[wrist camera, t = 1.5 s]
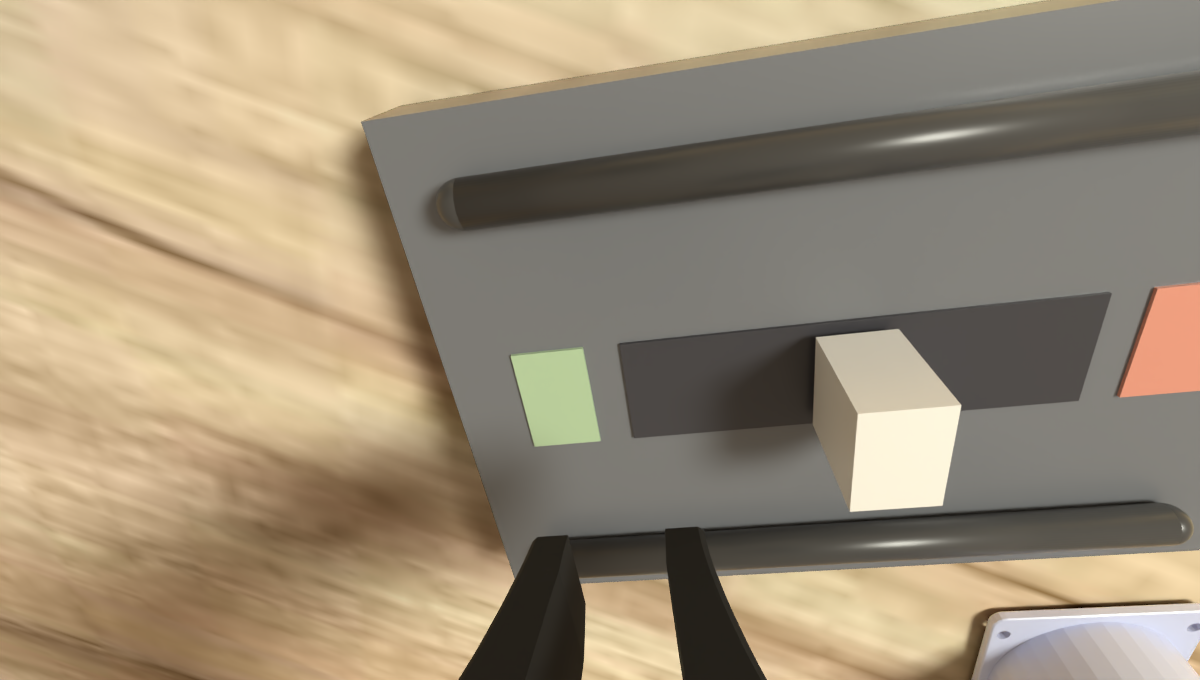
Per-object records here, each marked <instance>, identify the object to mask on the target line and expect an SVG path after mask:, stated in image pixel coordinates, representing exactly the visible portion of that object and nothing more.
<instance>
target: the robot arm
mask: <svg viewBox="0 0 1200 680" xmlns="http://www.w3.org/2000/svg"><path fill="white" fill-rule="evenodd" d="M665 541H666V566H667V573H668V580H669V587H670V594H671V602H672V609H673V616H674V623H675V630H676V637H677V644H678V651H679V658H680V664H681V671H682V677H683V680H767V679H766V677H765V676H764V674H763V672H762V670H761V668H760V666H759V665H758V663H757V661H756V659H755V657H754V655H753V653H752V651H751V649H750V647H749V645H748V643H747V641H746V639H745V637H744V635H743V633H742V630H741V628H740V626H739V624H738V622H737V620H736V618H735V616H734V614H733V612H732V609H731V607H730V605H729V603H728V600H727V598H726V596H725V593H724V591H723V588H722V586H721V583H720V581H719V578H718V576H717V573H716V570H715V568H714V565H713V562H712V559H711V556H710V552H709V549H708V545H707V542H706V537H705V532H704V530H702V529H701V528H699V527H683V528H667V529H665ZM584 641H585V600H584V596H583V592H582V588H581V584H580V580H579V576H578V572H577V568H576V565H575V561H574V557H573V553H572V549H571V545H570V541H569V537H568V535H559V536H544V537H537V538H536V539H535V540H534V541H533V542H532V544H531V546H530V549H529V551H528V553H527V555H526V557H525V559H524V562H523V564H522V566H521V568H520V570H519V572H518V574H517V576H516V578H515V580H514V582H513V584H512V586H511V588H510V590H509V592H508V594H507V596H506V598H505V600H504V602H503V604H502V606H501V607H500V609H499V611H498V613H497V615H496V616H495V618H494V620H493V622H492V624H491V625H490V627H489V629H488V631H487V633H486V634H485V636H484V638H483V640H482V642H481V643H480V645H479V647H478V649H477V650H476V652H475V654H474V655H473V657H472V659H471V660H470V662H469V663H468V665H467V667H466V668H465V670H464V672H463V673H462V675H461V676H460V678H459V680H581V678H582V670H583V662H584ZM1199 641H1200V603H1184V604H1161V605H1138V606H1116V607H1093V608H1070V609H1047V610H1025V611H1002V612H997V613H995V614H993V615H991V616H990V618H989V619H988V622H987V626H986V629H985V633H984V636H983V640H982V644H981V647H980V651H979V654H978V658H977V662H976V665H975V669H974V672H973V676H972V679H971V680H1200V676H1199V675H1198V674H1197V673H1196V671H1195V670H1194V669H1193V668H1192V667H1191V666H1190V664H1189V663H1188V662H1187V661H1188V660H1189V658H1190V656H1191V654H1192V653H1193V651H1194V649H1195V647H1196V646H1197V644H1198V642H1199Z"/></svg>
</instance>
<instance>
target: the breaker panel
mask: <svg viewBox="0 0 1200 680" xmlns="http://www.w3.org/2000/svg"><path fill="white" fill-rule="evenodd" d="M361 123H362V126H363V129H364V132H365V135H366V138H367V141H368V144H369V147H370V150H371V153H372V156H373V159H374V162H375V165H376V167H377V170H378V173H379V176H380V179H381V182H382V185H383V188H384V191H385V194H386V197H387V200H388V203H389V206H390V209H391V212H392V215H393V218H394V221H395V224H396V227H397V230H398V233H399V236H400V239H401V242H402V245H403V248H404V251H405V254H406V257H407V260H408V263H409V266H410V269H411V272H412V275H413V277H414V280H415V283H416V286H417V289H418V292H419V295H420V298H421V301H422V304H423V307H424V310H425V313H426V316H427V319H428V322H429V325H430V328H431V331H432V334H433V337H434V340H435V343H436V346H437V349H438V352H439V355H440V358H441V361H442V364H443V367H444V370H445V373H446V376H447V379H448V382H449V385H450V388H451V390H452V393H453V396H454V399H455V402H456V405H457V408H458V411H459V414H460V417H461V420H462V423H463V426H464V429H465V432H466V435H467V438H468V441H469V444H470V447H471V450H472V453H473V456H474V459H475V462H476V465H477V468H478V471H479V474H480V477H481V480H482V483H483V486H484V489H485V492H486V495H487V498H488V500H489V503H490V506H491V509H492V512H493V515H494V518H495V521H496V524H497V527H498V530H499V533H500V536H501V539H502V542H503V545H504V548H505V551H506V554H507V557H508V560H509V563H510V566H511V569H512V572H513V575H514V578H516V576H517V574H518V572H519V570H520V568H521V566H522V564H523V562H524V559H525V557H526V555H527V553H528V551H529V549H530V546H531V544H532V542H533V541H534V540H535V539H536V538H537V537H544V536H559V535H568V537H569V541H570V545H571V549H572V553H573V557H574V561H575V565H576V568H577V572H578V576H579V580H580V584H582V583H600V582H619V581H637V580H656V579H668V573H667V566H666V541H665V529H667V528H683V527H699V528H701V529H702V530H704V532H705V537H706V542H707V545H708V549H709V552H710V556H711V559H712V562H713V565H714V568H715V570H716V573H717V576H730V575H748V574H767V573H785V572H804V571H822V570H841V569H859V568H878V567H896V566H915V565H933V564H952V563H971V562H989V561H1008V560H1026V559H1045V558H1063V557H1082V556H1100V555H1119V554H1137V553H1156V552H1174V551H1193V550H1199V549H1200V0H1047V1H1041V2H1035V3H1028V4H1022V5H1016V6H1010V7H1004V8H998V9H992V10H985V11H979V12H973V13H967V14H961V15H955V16H949V17H942V18H936V19H930V20H924V21H918V22H912V23H906V24H899V25H893V26H887V27H881V28H875V29H869V30H863V31H856V32H850V33H844V34H838V35H832V36H826V37H820V38H813V39H807V40H801V41H795V42H789V43H783V44H777V45H770V46H764V47H758V48H752V49H746V50H740V51H734V52H727V53H721V54H715V55H709V56H703V57H697V58H691V59H684V60H678V61H672V62H666V63H660V64H654V65H648V66H641V67H635V68H629V69H623V70H617V71H611V72H605V73H598V74H592V75H586V76H580V77H574V78H568V79H562V80H555V81H549V82H543V83H537V84H531V85H525V86H519V87H513V88H506V89H500V90H494V91H488V92H482V93H476V94H470V95H463V96H457V97H451V98H445V99H439V100H433V101H427V102H420V103H414V104H408V105H402V106H399V107H396V108H394V109H391V110H389V111H386V112H384V113H381V114H379V115H377V116H374V117H372V118H369V119H367V120H364V121H362V122H361ZM892 329H899V330H900V331H901V332H902V333H903V335H904V336H905V337H906V338H907V340H908V341H909V342H910V343H911V344H912V346H913V347H914V348H915V349H916V350H917V352H918V353H919V354H920V355H921V357H922V358H923V359H924V360H925V361H926V363H927V364H928V365H929V366H930V368H931V369H932V370H933V371H934V372H935V374H936V375H937V376H938V377H939V378H940V380H941V381H942V382H943V383H944V385H945V386H946V387H947V388H948V389H949V391H950V392H951V393H952V394H953V395H954V397H955V398H956V399H957V400H958V402H959V403H960V404H961V410H960V415H959V421H958V426H957V431H956V437H955V442H954V447H953V452H952V458H951V463H950V468H949V474H948V479H947V484H946V489H945V495H944V500H943V505H942V506H931V507H916V508H900V509H885V510H870V511H855V512H850V511H849V509H848V506H847V504H846V502H845V499H844V497H843V495H842V492H841V490H840V488H839V485H838V483H837V480H836V478H835V476H834V473H833V471H832V469H831V466H830V464H829V462H828V459H827V457H826V455H825V452H824V450H823V448H822V445H821V443H820V441H819V438H818V436H817V434H816V431H815V429H814V426H813V403H814V374H815V346H816V337H823V336H833V335H843V334H853V333H863V332H872V331H882V330H892Z"/></svg>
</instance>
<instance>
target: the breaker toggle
mask: <svg viewBox="0 0 1200 680" xmlns="http://www.w3.org/2000/svg"><path fill="white" fill-rule="evenodd" d="M960 410H961V404H960V403H959V402H958V400H957V399H956V398H955V397H954V395H953V394H952V393H951V392H950V391H949V389H948V388H947V387H946V386H945V385H944V383H943V382H942V381H941V380H940V378H939V377H938V376H937V375H936V374H935V372H934V371H933V370H932V369H931V368H930V366H929V365H928V364H927V363H926V361H925V360H924V359H923V358H922V357H921V355H920V354H919V353H918V352H917V350H916V349H915V348H914V347H913V346H912V344H911V343H910V342H909V341H908V340H907V338H906V337H905V336H904V335H903V333H902V332H901V331H900V330H899V329H892V330H882V331H872V332H863V333H853V334H843V335H833V336H823V337H816V346H815V374H814V403H813V426H814V429H815V431H816V434H817V436H818V438H819V441H820V443H821V445H822V448H823V450H824V452H825V455H826V457H827V459H828V462H829V464H830V466H831V469H832V471H833V473H834V476H835V478H836V480H837V483H838V485H839V488H840V490H841V492H842V495H843V497H844V499H845V502H846V504H847V506H848V509H849V511H850V512H855V511H870V510H885V509H900V508H916V507H931V506H942V505H943V500H944V495H945V489H946V484H947V479H948V474H949V468H950V463H951V458H952V452H953V447H954V442H955V437H956V431H957V426H958V421H959V415H960Z"/></svg>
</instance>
